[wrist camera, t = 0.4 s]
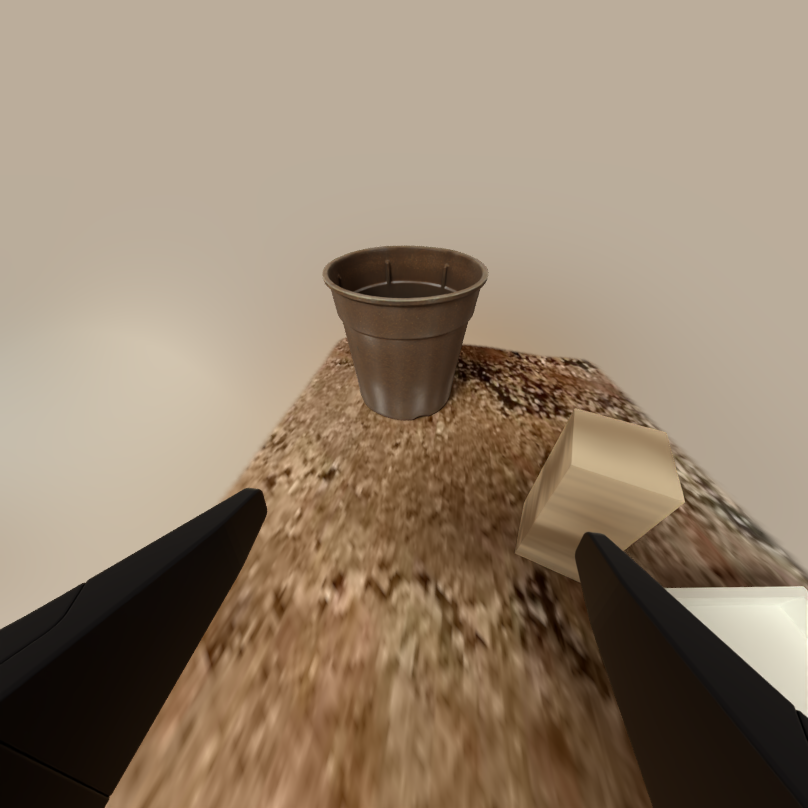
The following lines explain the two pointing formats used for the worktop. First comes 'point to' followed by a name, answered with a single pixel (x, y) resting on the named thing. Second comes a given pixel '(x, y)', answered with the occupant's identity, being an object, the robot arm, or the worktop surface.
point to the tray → (760, 630)
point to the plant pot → (405, 322)
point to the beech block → (597, 490)
